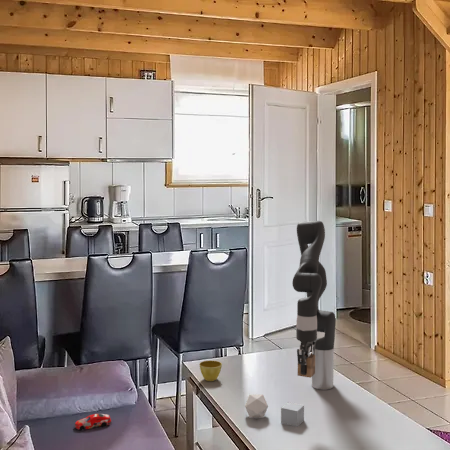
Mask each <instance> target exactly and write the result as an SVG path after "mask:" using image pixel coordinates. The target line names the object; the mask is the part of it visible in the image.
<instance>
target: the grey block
mask: <svg viewBox="0 0 450 450" xmlns="http://www.w3.org/2000/svg"><path fill="white" fill-rule="evenodd" d="M304 421H305V404H300V403H295V402H290V401H287V402H286V403H285V404H284V405H283V406H281V407H280V424H283V425H286V426H287V425H288V426H292V427H295V428H297V427H298V426H300V425H301V424H302V423H303V422H304Z"/></svg>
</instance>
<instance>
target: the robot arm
mask: <svg viewBox="0 0 450 450" xmlns="http://www.w3.org/2000/svg"><path fill="white" fill-rule="evenodd" d="M296 235H297V241H298V245H299V251H300V258H299V259H300V260H299V266H298V269H297V270H296V272H295V274H294V275H293V278H292V288H293V289H294V290H295V291H296V292H297V293H306V297H302V298H299V299H298V300H297V304H296V305H297V310H296V313H297V316H296V329H295V330H296V335H295V337H296V340H297V341H299V342H300V344H299V348H297V349H296V353H297V354H296V355H297V357H296V358H297V365H298V364H301V372H300V373H301V374H302V375H306V374H307V359H308V358H309V355H315V374H314V375H313V376H312V377H311V387H312V388H314V389H316V390H324V391H325V390H332V389H333V388H334V370H335V369H334V361H335V359H334V358H335V357H334V356H335V355H334V354H335V351H334V350H335V339H336V322H337V320H336V314H335V312H333V311H328V310H320V309H319V300H320V298H321V297H322V296H323V295H324V292H325V290H326V289H327V286H328V281H327V279H328V278H327V273H326V271H327V270H326V269H325V267H324V265H323V264H322V263H321V262H320V256H321V252H322V250H323V246H324V242H325V239H326V229H325V225H324V222H323V221H320V220H309V221H308V220H307V221H300V222H298V223H297V224H296ZM318 333H324V336H322V337H318ZM305 355H307V356H305ZM302 359H303V361H302Z"/></svg>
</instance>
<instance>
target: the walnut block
mask: <svg viewBox="0 0 450 450" xmlns="http://www.w3.org/2000/svg"><path fill="white" fill-rule="evenodd" d="M305 356H307V355H305ZM302 361H303V359H302ZM300 372H301V364H298V363H297V377H298V376H299V377H304V378H311V379H312V376H313V375H314V374H315V355H309V358H308V359H307V374H306V375H302V374H301V373H300Z"/></svg>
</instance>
